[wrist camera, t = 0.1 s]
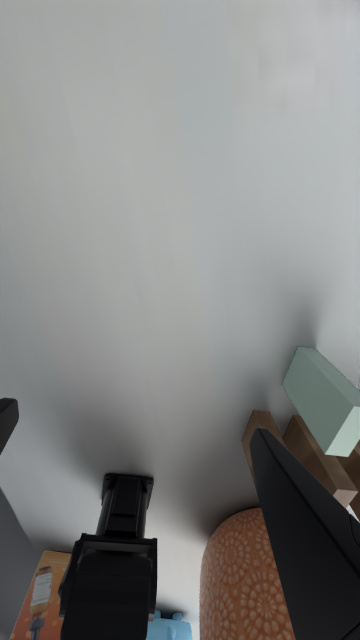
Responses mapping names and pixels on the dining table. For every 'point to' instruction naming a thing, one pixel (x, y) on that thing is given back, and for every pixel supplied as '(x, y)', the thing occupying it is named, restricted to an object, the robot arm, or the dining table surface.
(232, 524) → the planter
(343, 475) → the domino
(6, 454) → the dining table surface
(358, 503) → the domino
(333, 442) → the domino
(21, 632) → the small box
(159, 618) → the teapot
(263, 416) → the domino
